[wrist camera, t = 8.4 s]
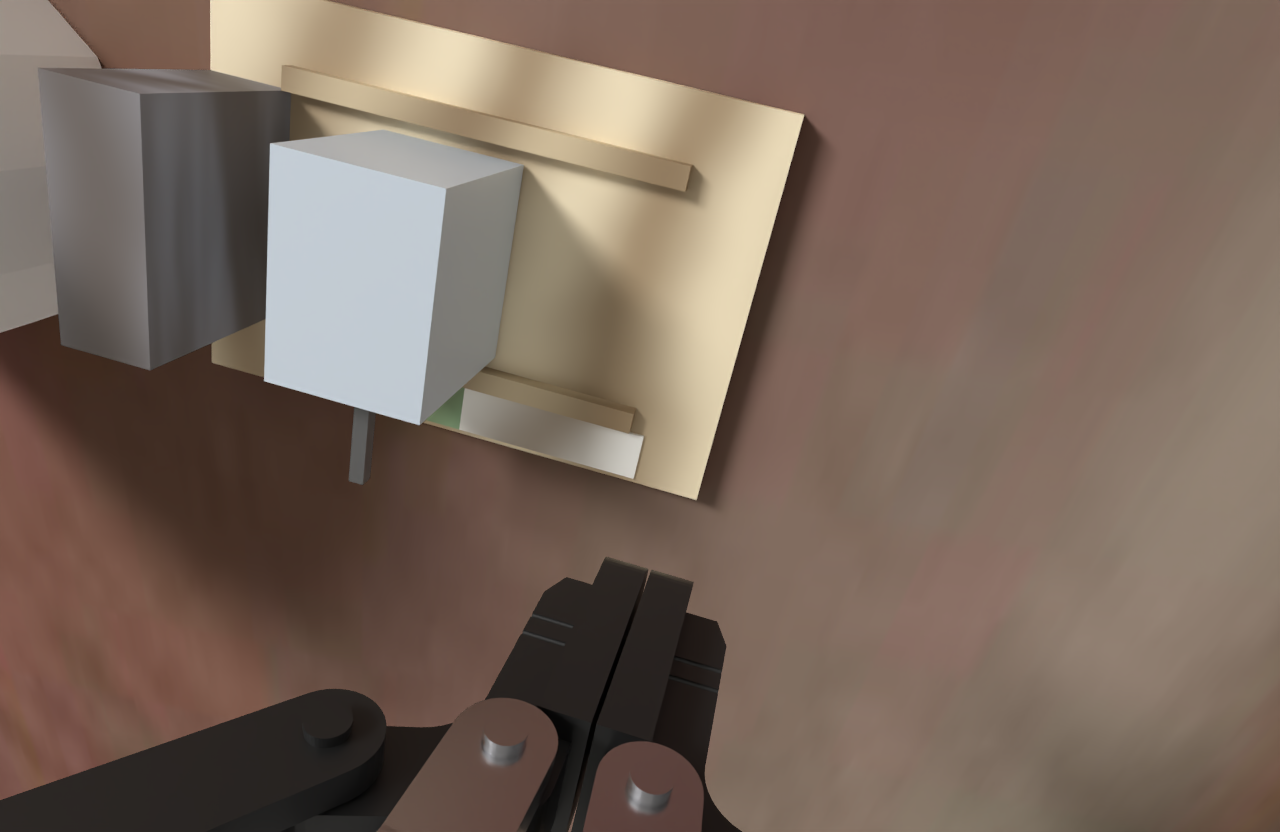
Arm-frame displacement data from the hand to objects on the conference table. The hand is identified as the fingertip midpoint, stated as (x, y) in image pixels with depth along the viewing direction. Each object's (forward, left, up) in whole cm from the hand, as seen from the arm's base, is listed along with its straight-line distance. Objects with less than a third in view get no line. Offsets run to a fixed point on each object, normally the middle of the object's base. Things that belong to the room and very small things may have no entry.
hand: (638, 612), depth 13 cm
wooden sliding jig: (+9, 0, -17) cm, 20 cm away
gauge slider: (+11, +1, -16) cm, 20 cm away
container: (+30, +1, -18) cm, 35 cm away
